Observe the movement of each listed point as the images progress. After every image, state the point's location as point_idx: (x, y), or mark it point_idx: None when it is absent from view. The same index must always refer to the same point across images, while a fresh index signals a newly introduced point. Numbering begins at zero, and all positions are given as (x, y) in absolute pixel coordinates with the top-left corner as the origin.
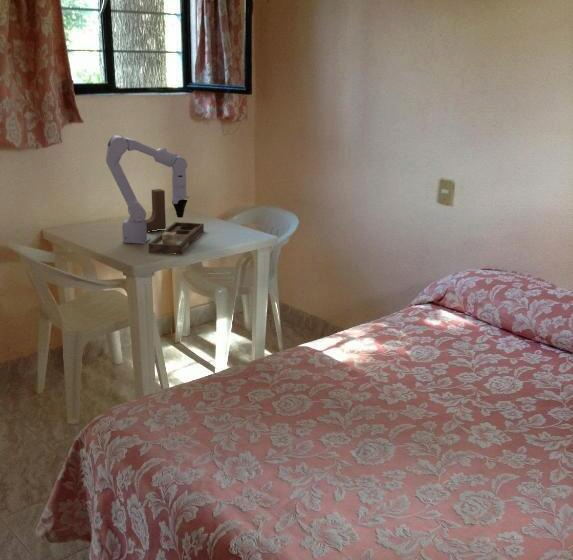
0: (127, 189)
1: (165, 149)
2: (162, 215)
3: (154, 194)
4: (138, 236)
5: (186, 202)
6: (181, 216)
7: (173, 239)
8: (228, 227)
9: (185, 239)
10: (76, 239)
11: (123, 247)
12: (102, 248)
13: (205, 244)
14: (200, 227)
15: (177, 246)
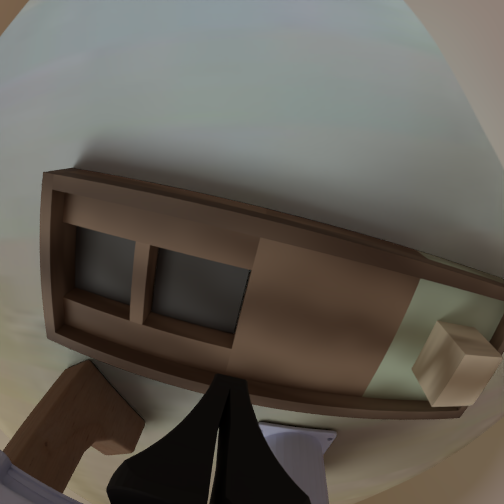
0: None
1: None
2: (66, 418)
3: None
4: (324, 466)
5: (164, 472)
6: (246, 391)
7: (489, 344)
8: (19, 56)
9: (457, 283)
10: None
11: (360, 464)
12: (355, 491)
13: (382, 147)
14: (115, 184)
15: None
